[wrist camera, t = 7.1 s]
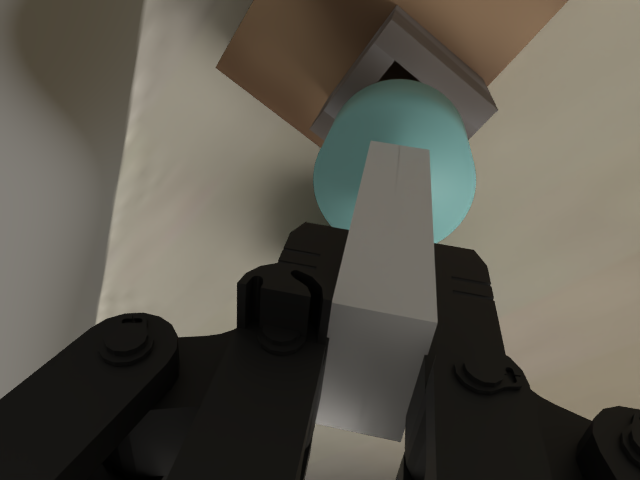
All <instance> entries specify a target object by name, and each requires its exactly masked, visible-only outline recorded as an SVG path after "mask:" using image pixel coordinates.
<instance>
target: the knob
mask: <svg viewBox="0 0 640 480" xmlns="http://www.w3.org/2000/svg"><path fill="white" fill-rule="evenodd" d="M371 141H377V142H383V143H390V144H396V145H402V146H409V147H415V148H421V149H428V150H429V152H430V173H431V194H432V214H433V235H434V243H437V242H439V241H441V240H442V239H444V238H445V237H447V236H448V235H449V234H450V233H452V232H453V231H454V230H455V229H456V228H457V227H458V226H459V224H460V223H461V222H462V220H463V219H464V218H465V216H466V214H467V212H468V211H469V209H470V206H471V204H472V201H473V198H474V193H475V187H476V172H475V166H474V162H473V158H472V154H471V150H470V146H469V142H468V138H467V134H466V130H465V126H464V123H463V120H462V118H461V116H460V114H459V112H458V110H457V109H456V107H455V106H454V105H453V103H452V102H451V101H450V100H449V99H448V98H447V97H446V96H445V95H444V94H442V93H441V92H439V91H438V90H437V89H435V88H433V87H431V86H429V85H427V84H424V83H421V82H418V81H413V80H407V79H391V80H385V81H380V82H377V83H374V84H372V85H370V86H367V87H365V88H363V89H362V90H360V91H359V92H357V93H356V94H355V95H353V96H352V97H351V98H350V99H349V100H348V101H347V102H346V103H345V104H344V105H343V107H342V108H341V110H340V111H339V113H338V114H337V116H336V118H335V120H334V122H333V125H332V127H331V129H330V131H329V133H328V135H327V137H326V139H325V141H324V143H323V145H322V147H321V149H320V151H319V153H318V156H317V159H316V162H315V167H314V174H313V185H314V193H315V197H316V201H317V203H318V206H319V208H320V210H321V212H322V214H323V215H324V217H325V219H326V220H327V221H328V223H329V224H330V225H331V226H332V227H335V228H341V229H347V230H349V229H350V225H351V221H352V216H353V212H354V208H355V204H356V200H357V196H358V191H359V187H360V183H361V179H362V175H363V171H364V167H365V162H366V158H367V154H368V150H369V146H370V142H371Z"/></svg>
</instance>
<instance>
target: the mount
mask: <svg viewBox="0 0 640 480" xmlns="http://www.w3.org/2000/svg"><path fill="white" fill-rule="evenodd" d="M567 1H568V0H253V2H252V4H251V6H250V8H249V9H248V11H247V13H246V15H245V16H244V18H243V20H242V22H241V23H240V25H239V27H238V29H237V30H236V32H235V34H234V36H233V38H232V39H231V41H230V43H229V45H228V46H227V48H226V50H225V52H224V53H223V55H222V57H221V59H220V61H219V62H218V64H217V66H216V68H217V69H218V70H219V71H221V72H222V73H223V74H225V75H226V76H227V77H229V78H230V79H231V80H232V81H234V82H235V83H236V84H238V85H239V86H240V87H242V88H243V89H244V90H246V91H247V92H248V93H250V94H251V95H252V96H254V97H255V98H256V99H257V100H259V101H260V102H261V103H263V104H264V105H265V106H267V107H268V108H269V109H271V110H272V111H273V112H275V113H276V114H277V115H278V116H280V117H281V118H282V119H284V120H285V121H286V122H288V123H289V124H290V125H292V126H293V127H294V128H296V129H297V130H298V131H300V132H301V133H302V134H303V135H305V136H306V137H307V138H309V139H310V140H311V141H313V142H314V143H315V144H317V145H318V146H319V147H322V145H323V143H324V141H325V139H326V137H327V135H328V133H329V131H330V129H331V127H332V125H333V122H334V120H335V118H336V116H337V114H338V113H339V111H340V110H341V108H342V107H343V105H344V104H345V103H346V102H347V101H348V100H349V99H350V98H351V97H352V96H353V95H355V94H356V93H357V92H359V91H360V90H362V89H363V88H365V87H367V86H370V85H372V84H374V83H377V82H380V81H385V80H391V79H407V80H413V81H418V82H421V83H424V84H427V85H429V86H431V87H433V88H435V89H437V90H438V91H439V92H441V93H442V94H444V95H445V96H446V97H447V98H448V99H449V100H450V101H451V102H452V103H453V105H454V106H455V107H456V109H457V110H458V112H459V114H460V116H461V118H462V120H463V123H464V126H465V130H466V134H467V138H468V140H469V139H470V138H471V137H472V136H473V135H474V134H475V133H476V132H477V131H478V130H479V129H480V128H481V126H482V125H483V124H484V123H485V122H486V121H487V120H488V119H489V118H490V117H491V116H492V115H493V114H494V113H495V112H496V111H497V110H498V109H497V107H496V105H495V103H494V101H493V98H492V96H491V94H490V92H489V90H488V88H487V86H488V85H489V84H490V83H491V82H492V81H493V80H494V79H495V78H496V77H497V76H498V75H499V74H500V73H501V71H502V70H503V69H504V68H505V67H506V66H507V65H508V64H509V63H510V62H511V61H512V60H513V59H514V58H515V57H516V56H517V54H518V53H519V52H520V51H521V50H522V49H523V48H524V47H525V46H526V45H527V44H528V43H529V42H530V41H531V40H532V39H533V37H534V36H535V35H536V34H537V33H538V32H539V31H540V30H541V29H542V28H543V27H544V26H545V25H546V24H547V23H548V21H549V20H550V19H551V18H552V17H553V16H554V15H555V14H556V13H557V12H558V11H559V10H560V9H561V8H562V7H563V6H564V4H565V3H566V2H567Z"/></svg>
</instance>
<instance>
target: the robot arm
mask: <svg viewBox="0 0 640 480" xmlns="http://www.w3.org/2000/svg"><path fill="white" fill-rule="evenodd" d="M490 284H491V282H490V277H489V272H488V268H487V265H486V264H485V263H484V262H483V261H482V259H481V258H480V257H479V256H478V254H477V253H476V252H475V251H474V250H471V249H465V248H459V247H454V246H448V245H442V244H436V243H434V235H433V214H432V194H431V173H430V152H429V150H428V149H421V148H415V147H409V146H402V145H396V144H390V143H383V142H377V141H371V142H370V146H369V150H368V154H367V158H366V162H365V167H364V171H363V175H362V179H361V183H360V187H359V191H358V196H357V200H356V204H355V208H354V212H353V216H352V221H351V225H350V229H349V230H347V229H341V228H335V227H330V226H324V225H318V224H313V223H307V222H305V223H303V224H302V225H301V226H299V227H298V228H297V229H295V230H294V231H292V232H291V233H290V235H289V237H288V239H287V242H286V244H285V246H284V250H283V251H282V253H281V255H280V257H279V260H278V263H275V264H269V265H264V266H259V267H257V268H255V269H253V270H251V271H249V272H247V273H246V274H245V275H244V276H243V277H242V278H241V279H240V280H239V282H238V283H237V328H236V329H234V330H232V331H228V332H225V333H222V334H217V335H210V336H197V337H178V336H177V334H176V332H175V330H174V328H173V326H172V324H170V323H169V322H167V321H166V320H164V319H163V318H161V317H159V316H155V315H151V314H146V313H127V314H122V315H118V316H115V317H111V318H108V319H105V320H104V321H102V322H100V323H99V324H97V325H95V326H94V327H92V328H90V329H89V330H88V331H86V332H85V333H84V334H83V335H81V336H80V337H79V338H77V339H76V340H75V341H74V342H72V343H71V344H70V345H69V346H67V347H66V348H65V349H64V350H62V351H61V352H60V353H58V354H57V355H56V356H55V357H54V358H52V359H51V360H50V361H48V362H47V363H46V364H44V365H43V366H42V367H41V368H39V369H38V370H37V371H36V372H34V373H33V374H32V375H31V376H29V377H28V378H27V379H25V380H24V381H23V382H22V383H21V384H19V385H18V386H17V387H15V388H14V389H13V390H12V391H10V392H9V393H8V394H6V395H5V396H4V397H3V398H1V399H0V480H305V475H306V470H307V466H308V461H309V456H310V450H311V443H312V436H313V431H314V427H315V424H319V425H324V426H328V427H333V428H338V429H342V430H347V431H352V432H356V433H361V434H366V435H370V436H375V437H380V438H384V439H389V440H394V441H398V442H401V439H402V436H403V433H404V430H405V452H404V455H403V458H402V461H401V464H400V468H399V471H398V474H397V477H396V480H640V410H639V409H633V408H628V407H622V406H616V407H611V408H606V409H603V410H602V411H601V412H600V413H599V414H598V415H597V416H596V417H595V418H594V419H593V421H591V420H588V419H586V418H584V417H582V416H580V415H577V414H575V413H573V412H571V411H568V410H566V409H564V408H562V407H560V406H557V405H555V404H553V403H551V402H549V401H548V400H546V399H544V398H542V397H540V396H539V395H537V394H536V393H535V392H533V391H532V390H531V389H530V385H529V383H528V381H527V379H526V377H525V375H524V373H523V371H522V370H521V369H520V368H519V367H518V365H517V364H516V363H515V362H514V361H513V360H512V359H511V358H510V357H508V356H506V354H505V350H504V345H503V340H502V335H501V330H500V325H499V321H498V316H497V311H496V306H495V301H493V298H494V296H493V292H492V287H491V286H490ZM405 426H406V428H405Z"/></svg>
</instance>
